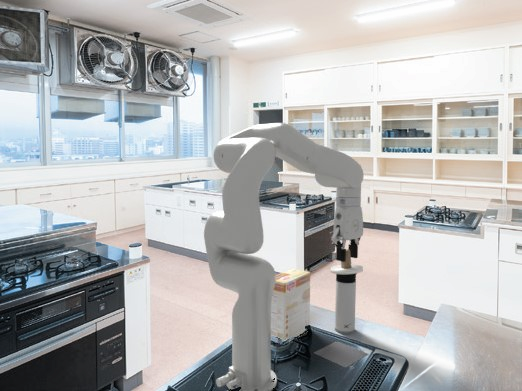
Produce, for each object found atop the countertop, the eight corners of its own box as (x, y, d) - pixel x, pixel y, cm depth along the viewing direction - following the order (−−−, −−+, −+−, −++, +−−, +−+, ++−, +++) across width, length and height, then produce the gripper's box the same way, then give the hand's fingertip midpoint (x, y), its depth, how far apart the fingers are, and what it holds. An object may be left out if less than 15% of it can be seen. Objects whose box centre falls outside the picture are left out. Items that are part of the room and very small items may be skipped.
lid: (350, 275, 120) (349, 254, 120) (324, 272, 128) (322, 252, 128) (369, 269, 127) (367, 248, 127) (343, 266, 135) (341, 246, 134)
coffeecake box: (292, 325, 134) (292, 267, 132) (310, 330, 130) (311, 271, 128) (264, 340, 122) (265, 278, 120) (284, 347, 118) (284, 283, 116)
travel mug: (350, 337, 125) (352, 274, 123) (331, 331, 129) (332, 270, 127) (358, 330, 130) (360, 269, 128) (340, 325, 134) (341, 266, 132)
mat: (345, 369, 106) (345, 367, 106) (313, 354, 114) (313, 352, 114) (368, 355, 113) (368, 354, 113) (336, 342, 121) (336, 340, 121)
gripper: (341, 205, 117) (340, 266, 119) (373, 201, 129) (372, 256, 130) (321, 203, 122) (320, 261, 124) (354, 199, 134) (352, 252, 136)
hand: (346, 258), depth 127 cm, fingers open, 5 cm apart
